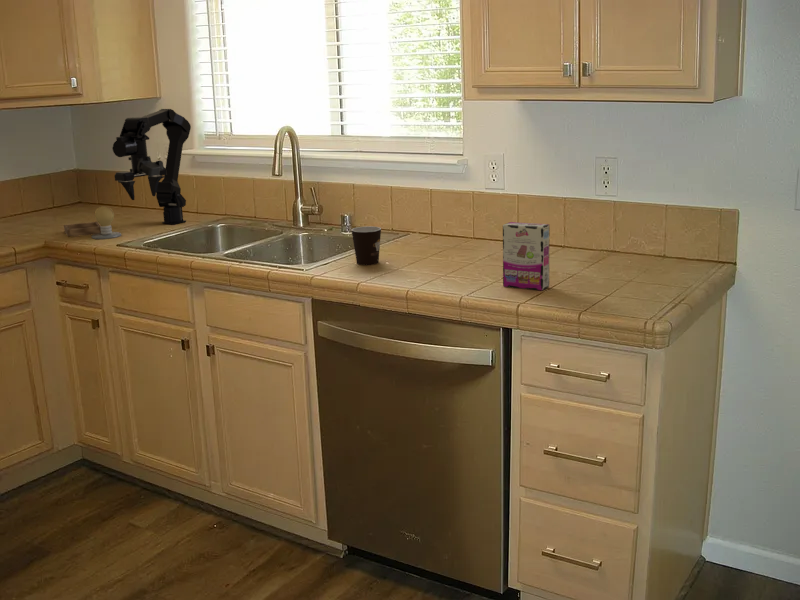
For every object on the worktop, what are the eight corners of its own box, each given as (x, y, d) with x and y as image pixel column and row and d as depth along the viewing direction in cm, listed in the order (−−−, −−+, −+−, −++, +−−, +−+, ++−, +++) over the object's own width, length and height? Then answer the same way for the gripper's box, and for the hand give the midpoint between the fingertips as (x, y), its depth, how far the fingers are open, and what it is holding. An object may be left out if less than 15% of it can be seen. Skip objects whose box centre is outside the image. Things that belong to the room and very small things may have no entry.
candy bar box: (550, 286, 233) (550, 223, 229) (542, 291, 229) (543, 227, 224) (510, 282, 238) (509, 220, 234) (502, 286, 234) (501, 224, 230)
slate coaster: (109, 232, 325) (109, 230, 325) (127, 235, 320) (127, 233, 320) (85, 237, 318) (85, 235, 317) (103, 240, 312) (103, 238, 312)
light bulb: (105, 232, 323) (102, 204, 320) (120, 233, 320) (116, 205, 317) (93, 235, 317) (89, 207, 314) (107, 236, 315) (104, 208, 312)
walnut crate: (97, 228, 334) (96, 221, 334) (102, 233, 324) (101, 226, 324) (64, 231, 330) (63, 225, 329) (68, 237, 320) (67, 230, 319)
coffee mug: (364, 267, 260) (363, 233, 257) (347, 262, 266) (345, 229, 264) (396, 260, 267) (395, 227, 264) (378, 256, 274) (376, 223, 271)
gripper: (132, 157, 306) (137, 203, 310) (174, 151, 321) (179, 195, 325) (111, 156, 312) (116, 201, 317) (154, 150, 327) (158, 193, 331)
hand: (143, 198), depth 322 cm, fingers open, 9 cm apart
